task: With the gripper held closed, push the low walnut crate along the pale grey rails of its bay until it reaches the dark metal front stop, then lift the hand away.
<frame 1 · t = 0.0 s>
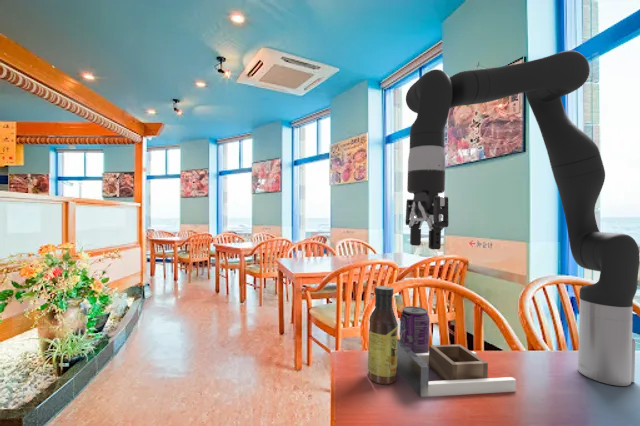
hand: (424, 247, 68), 29 cm above the table, tool pointing down, fingers open, 8 cm apart
beverage can: (413, 357, 82), on the table
bay: (450, 377, 72), on the table
crate: (456, 364, 72), point 3 cm above the table, slide at 0.0 cm
sauce bottle: (381, 379, 71), on the table
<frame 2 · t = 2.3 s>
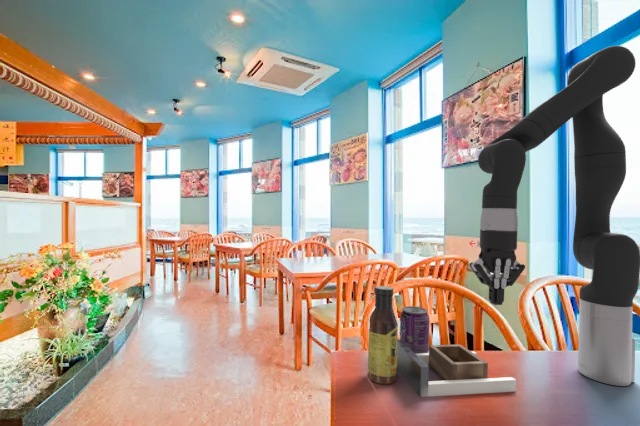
hand: (496, 304, 74), 16 cm above the table, tool pointing down, fingers closed
nothing on the table moved.
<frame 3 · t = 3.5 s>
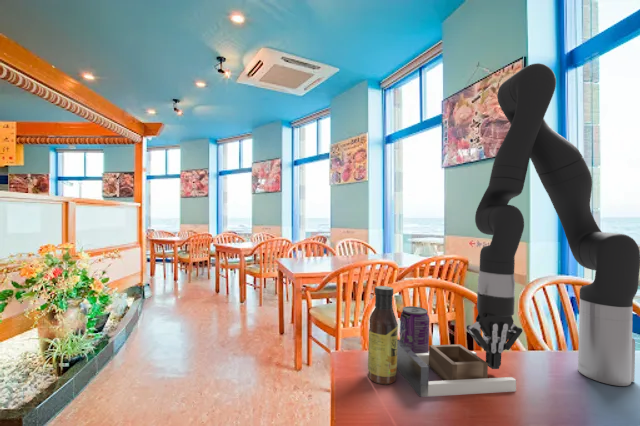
hand: (492, 367, 74), 2 cm above the table, tool pointing down, fingers closed
nothing on the table moved.
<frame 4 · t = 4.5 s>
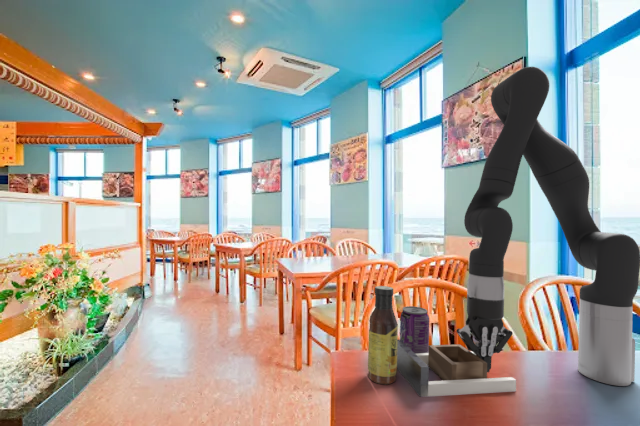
hand: (483, 370, 73), 1 cm above the table, tool pointing down, fingers closed
crate: (455, 364, 72), point 3 cm above the table, slide at 0.1 cm, touching gripper
everything else where it was.
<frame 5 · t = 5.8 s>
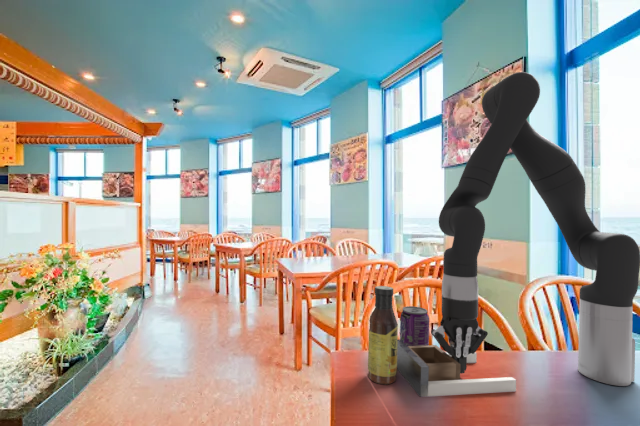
hand: (458, 371, 72), 1 cm above the table, tool pointing down, fingers closed
crate: (430, 366, 71), point 3 cm above the table, slide at 6.2 cm, touching gripper
everything else where it was.
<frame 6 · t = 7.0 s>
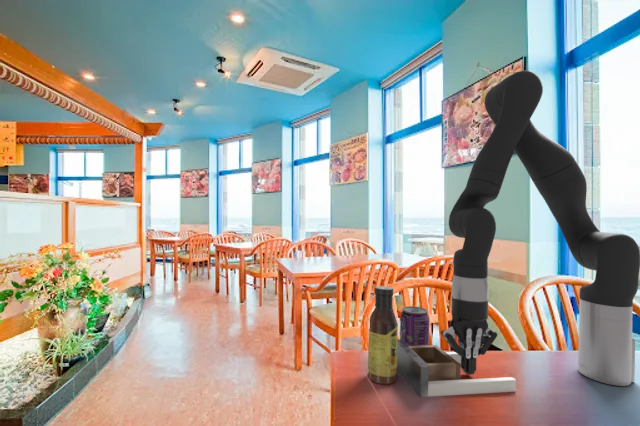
hand: (468, 372, 73), 1 cm above the table, tool pointing down, fingers closed
crate: (430, 366, 71), point 3 cm above the table, slide at 6.2 cm
everything else where it was.
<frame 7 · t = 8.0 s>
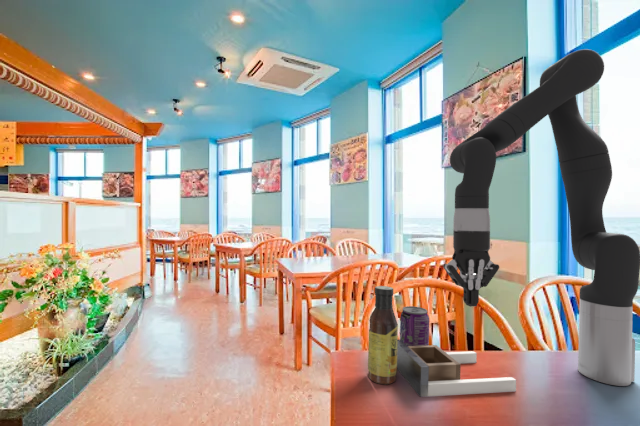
hand: (470, 305, 73), 16 cm above the table, tool pointing down, fingers closed
nothing on the table moved.
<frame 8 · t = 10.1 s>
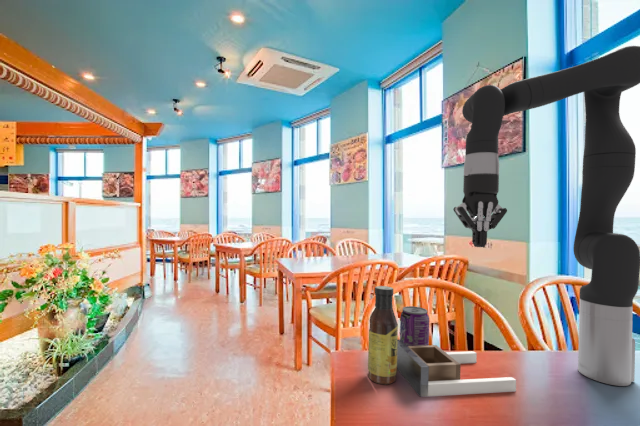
hand: (479, 246, 77), 29 cm above the table, tool pointing down, fingers closed
nothing on the table moved.
at the end: crate slide at 6.2 cm; the gripper is holding nothing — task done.
